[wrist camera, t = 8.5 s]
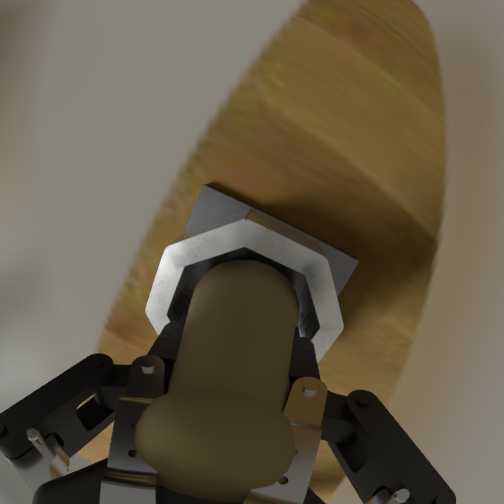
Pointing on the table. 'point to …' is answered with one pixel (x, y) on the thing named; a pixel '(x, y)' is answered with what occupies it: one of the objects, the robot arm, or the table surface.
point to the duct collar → (252, 248)
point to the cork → (227, 388)
